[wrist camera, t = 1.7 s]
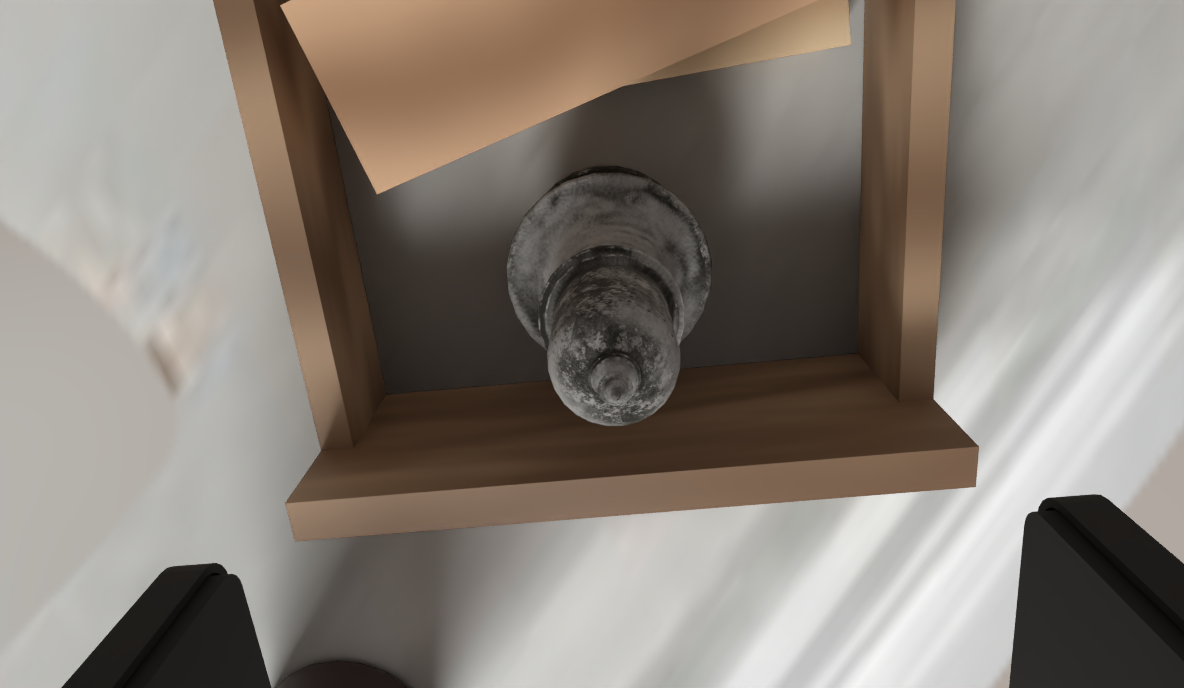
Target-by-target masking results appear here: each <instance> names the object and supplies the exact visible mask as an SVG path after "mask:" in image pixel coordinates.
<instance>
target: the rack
mask: <svg viewBox="0 0 1184 688" xmlns="http://www.w3.org/2000/svg"><path fill="white" fill-rule="evenodd" d="M288 1H290V0H213V2H214V6H215V10H216V15H217V19H218V23H219V27H220V31H221V35H222V40H223V44H224V48H225V52H226V56H227V60H228V64H229V69H230V73H231V77H232V81H233V85H234V89H235V94H236V98H237V102H238V106H239V110H240V114H241V119H242V123H243V127H244V131H245V135H246V139H247V144H248V148H249V152H250V156H251V160H252V164H253V169H254V173H255V177H256V181H257V185H258V189H259V193H260V198H261V202H262V206H263V210H264V214H265V218H266V223H267V227H268V231H269V235H270V239H271V243H272V248H273V252H274V256H275V260H276V264H277V268H278V273H279V277H280V281H281V285H282V289H283V293H284V297H285V302H286V306H287V310H288V314H289V318H290V322H291V327H292V331H293V335H294V339H295V343H296V347H297V352H298V356H299V360H300V364H301V368H302V372H303V377H304V381H305V385H306V389H307V393H308V397H309V401H310V406H311V410H312V414H313V418H314V422H315V426H316V431H317V435H318V439H319V443H320V447H321V452H320V454H319V455H318V456H317V458H316V459H315V461H314V462H313V464H312V465H311V467H310V468H309V470H308V471H307V472H306V474H305V475H304V477H303V478H302V480H301V481H300V483H299V484H298V486H297V487H296V488H295V490H294V491H293V493H292V494H291V496H290V497H289V499H288V500H287V502H286V503H285V505H286V509H287V512H288V516H289V520H290V524H291V527H292V531H293V535H294V539H295V541H306V540H319V539H331V538H344V537H356V536H369V535H381V534H394V533H406V532H419V531H431V530H444V529H456V528H469V527H481V526H494V525H506V524H519V523H531V522H544V521H556V520H569V519H581V518H594V517H606V516H619V515H631V514H644V513H656V512H669V511H681V510H694V509H706V508H719V507H731V506H744V505H756V504H769V503H781V502H794V501H806V500H818V499H831V498H843V497H856V496H868V495H881V494H893V493H906V492H918V491H931V490H943V489H956V488H968V487H976V477H977V464H978V452H979V446H978V445H977V444H976V443H975V442H974V441H973V440H972V439H971V438H970V437H969V436H968V435H967V434H966V433H965V432H964V431H963V430H962V429H961V428H960V426H959V425H958V424H957V423H956V422H955V421H954V420H953V419H952V418H951V417H950V416H949V415H948V414H947V413H946V412H945V411H944V410H943V409H942V408H941V407H940V406H939V405H938V404H937V403H936V401H935V400H934V399H933V395H934V377H935V360H936V342H937V324H938V307H939V289H940V271H941V254H942V236H943V218H944V201H945V183H946V166H947V148H948V130H949V113H950V95H951V77H952V60H953V42H954V24H955V7H956V0H865V12H864V62H863V111H862V161H861V210H860V259H859V309H858V354H847V355H836V356H824V357H813V358H801V359H790V360H778V361H767V362H755V363H744V364H732V365H721V366H709V367H698V368H686V369H680V370H679V374H678V377H677V381H676V384H675V387H674V389H673V391H672V393H671V394H670V396H669V398H668V399H667V401H666V402H665V403H664V404H663V405H662V406H661V407H660V408H659V409H658V410H657V411H656V412H655V413H654V414H652V415H650V416H649V417H647V418H645V419H643V420H641V421H639V422H636V423H632V424H628V425H624V426H605V425H601V424H596V423H592V422H590V421H588V420H586V419H584V418H582V417H580V416H578V415H576V414H575V413H574V412H573V411H572V410H570V409H569V408H568V407H567V406H566V405H565V404H564V403H563V401H562V400H561V398H560V397H559V395H558V394H557V392H556V391H555V389H554V387H553V384H552V381H551V380H548V381H536V382H525V383H513V384H502V385H490V386H479V387H467V388H456V389H444V390H433V391H421V392H410V393H398V394H387V395H386V390H385V386H384V381H383V376H382V371H381V366H380V361H379V356H378V351H377V346H376V341H375V336H374V331H373V326H372V322H371V317H370V312H369V307H368V302H367V297H366V292H365V287H364V282H363V277H362V272H361V267H360V262H359V258H358V253H357V248H356V243H355V238H354V233H353V228H352V223H351V218H350V213H349V208H348V203H347V198H346V194H345V189H344V184H343V179H342V174H341V169H340V164H339V159H338V154H337V149H336V144H335V139H334V134H333V130H332V125H331V120H330V115H329V110H328V105H327V100H326V95H325V92H324V90H323V88H322V86H321V84H320V82H319V80H318V78H317V76H316V74H315V72H314V70H313V68H312V66H311V64H310V62H309V61H308V59H307V57H306V55H305V53H304V51H303V49H302V47H301V45H300V43H299V41H298V39H297V37H296V35H295V33H294V31H293V29H292V27H291V25H290V24H289V22H288V20H287V18H286V16H285V14H284V12H283V10H282V8H281V6H280V5H282V4H284V3H286V2H288Z"/></svg>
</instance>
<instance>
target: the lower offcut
mask: <svg viewBox="0 0 1184 688" xmlns="http://www.w3.org/2000/svg"><path fill="white" fill-rule="evenodd" d="M847 45H851V40H850V22H849V4H848V0H817V1H815V2H813V3H811V4H808V5H806V6H804V7H802V8H799V9H797V10H795V11H792V12H790V13H788V14H786V15H783V16H781V17H779V18H777V19H774V20H772V21H770V22H767V23H765V24H763V25H761V26H758V27H756V28H754V29H752V30H749V31H747V32H745V33H742V34H740V35H738V36H736V37H733V38H731V39H729V40H727V41H724V42H722V43H720V44H718V45H715V46H713V47H711V48H708V49H706V50H704V51H702V52H699V53H697V54H695V55H693V56H690V57H688V58H686V59H683V60H681V61H679V62H677V63H674V64H672V65H670V66H668V67H665V68H663V69H661V70H658V71H656V72H654V73H652V74H649V75H647V76H645V77H643V78H640V79H638V80H636V81H633V82H631V83H629V84H627V85H632V84H637V83H643V82H648V81H654V80H659V79H665V78H670V77H676V76H681V75H687V74H692V73H698V72H703V71H709V70H714V69H720V68H725V67H731V66H736V65H742V64H747V63H753V62H758V61H764V60H769V59H775V58H780V57H786V56H791V55H797V54H803V53H808V52H814V51H819V50H825V49H830V48H836V47H841V46H847ZM624 86H626V85H624Z"/></svg>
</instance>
